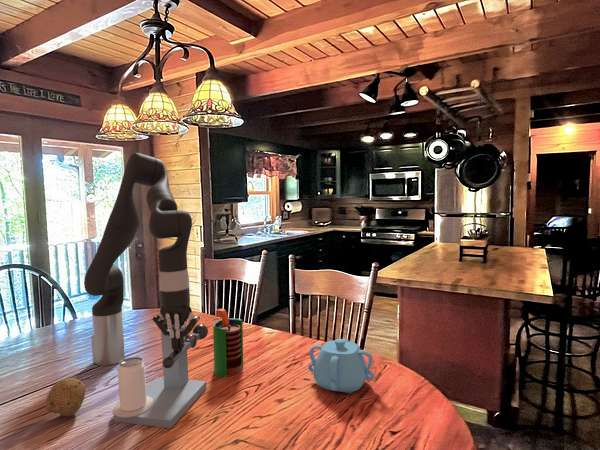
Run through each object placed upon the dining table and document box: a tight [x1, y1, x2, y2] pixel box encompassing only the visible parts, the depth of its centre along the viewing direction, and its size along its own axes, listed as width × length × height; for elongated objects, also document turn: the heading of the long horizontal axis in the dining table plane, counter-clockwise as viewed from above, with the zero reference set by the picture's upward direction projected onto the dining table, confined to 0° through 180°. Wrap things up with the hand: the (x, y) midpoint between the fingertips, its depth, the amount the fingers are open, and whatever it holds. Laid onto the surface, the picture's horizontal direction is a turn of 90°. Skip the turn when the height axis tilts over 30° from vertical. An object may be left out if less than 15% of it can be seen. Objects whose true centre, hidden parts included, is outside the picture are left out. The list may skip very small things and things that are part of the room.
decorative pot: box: [308, 338, 375, 394], centre depth 115 cm, size 16×16×14 cm
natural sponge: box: [44, 377, 86, 418], centre depth 102 cm, size 9×9×10 cm
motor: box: [212, 308, 244, 378], centre depth 126 cm, size 10×9×20 cm
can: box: [117, 356, 147, 412], centre depth 102 cm, size 6×6×12 cm
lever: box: [162, 323, 209, 369], centre depth 107 cm, size 4×22×4 cm, turn 168°
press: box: [112, 320, 207, 429], centre depth 106 cm, size 18×21×22 cm
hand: (178, 350), depth 103 cm, fingers closed
